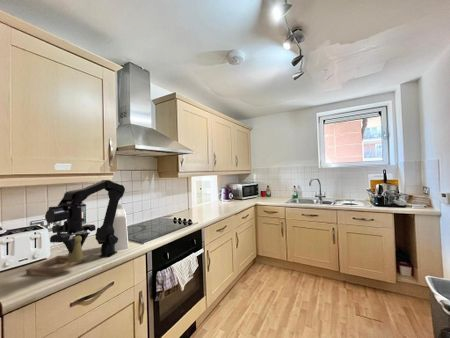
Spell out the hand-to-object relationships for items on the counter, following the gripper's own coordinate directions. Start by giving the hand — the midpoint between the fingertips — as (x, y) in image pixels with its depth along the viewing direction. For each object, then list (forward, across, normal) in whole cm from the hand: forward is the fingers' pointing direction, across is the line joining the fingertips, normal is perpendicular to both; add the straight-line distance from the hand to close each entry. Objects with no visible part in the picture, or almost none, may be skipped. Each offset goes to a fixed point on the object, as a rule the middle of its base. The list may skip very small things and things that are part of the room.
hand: (75, 251), depth 93 cm
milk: (+9, -29, 0) cm, 30 cm away
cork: (+4, 0, 0) cm, 4 cm away
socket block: (+9, -2, -12) cm, 15 cm away
